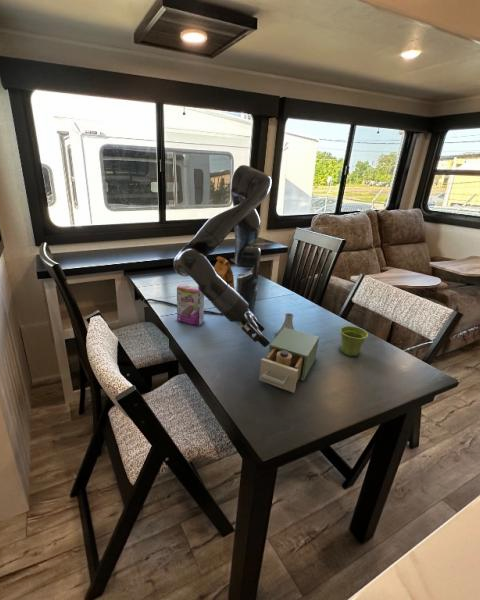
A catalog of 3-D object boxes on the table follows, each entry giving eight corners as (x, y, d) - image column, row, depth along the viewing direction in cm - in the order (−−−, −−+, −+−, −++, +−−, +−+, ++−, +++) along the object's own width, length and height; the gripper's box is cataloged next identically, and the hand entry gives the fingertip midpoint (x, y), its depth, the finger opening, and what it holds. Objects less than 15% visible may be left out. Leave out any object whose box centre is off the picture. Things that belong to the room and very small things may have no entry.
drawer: (288, 402, 90) (292, 380, 87) (252, 388, 96) (254, 367, 93) (306, 370, 105) (309, 350, 102) (274, 360, 110) (276, 340, 107)
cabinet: (303, 381, 101) (307, 356, 97) (267, 368, 107) (269, 344, 103) (314, 359, 112) (319, 336, 109) (281, 349, 118) (284, 327, 115)
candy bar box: (176, 321, 138) (175, 287, 132) (182, 316, 143) (181, 283, 136) (199, 326, 134) (199, 291, 128) (204, 322, 138) (204, 287, 132)
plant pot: (361, 361, 112) (366, 341, 108) (333, 353, 116) (338, 333, 113) (364, 350, 119) (369, 330, 116) (338, 343, 124) (343, 323, 120)
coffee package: (218, 305, 155) (220, 263, 147) (209, 296, 166) (210, 256, 157) (236, 302, 159) (238, 261, 150) (226, 294, 169) (227, 254, 161)
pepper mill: (271, 377, 99) (274, 353, 96) (277, 370, 103) (280, 346, 99) (285, 382, 97) (289, 358, 94) (290, 374, 101) (294, 351, 97)
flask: (285, 342, 123) (288, 320, 119) (273, 334, 129) (276, 312, 125) (299, 338, 126) (302, 316, 122) (287, 330, 132) (290, 309, 128)
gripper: (241, 304, 82) (279, 342, 87) (236, 285, 95) (269, 319, 100) (220, 321, 84) (259, 357, 89) (218, 300, 97) (252, 333, 102)
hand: (264, 337), depth 95 cm, fingers open, 8 cm apart
